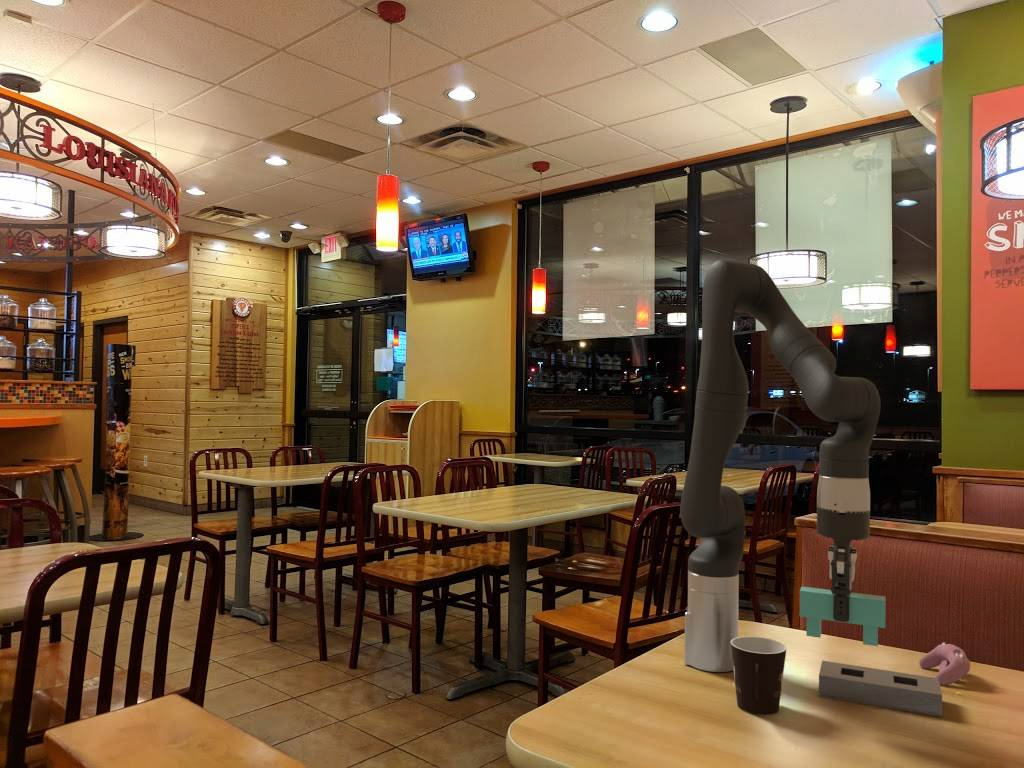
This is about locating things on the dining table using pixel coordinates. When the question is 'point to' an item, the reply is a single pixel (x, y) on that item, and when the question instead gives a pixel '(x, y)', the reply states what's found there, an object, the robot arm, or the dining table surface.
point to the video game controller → (947, 663)
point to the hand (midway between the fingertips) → (841, 617)
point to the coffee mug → (758, 673)
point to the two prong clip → (861, 612)
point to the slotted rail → (881, 688)
